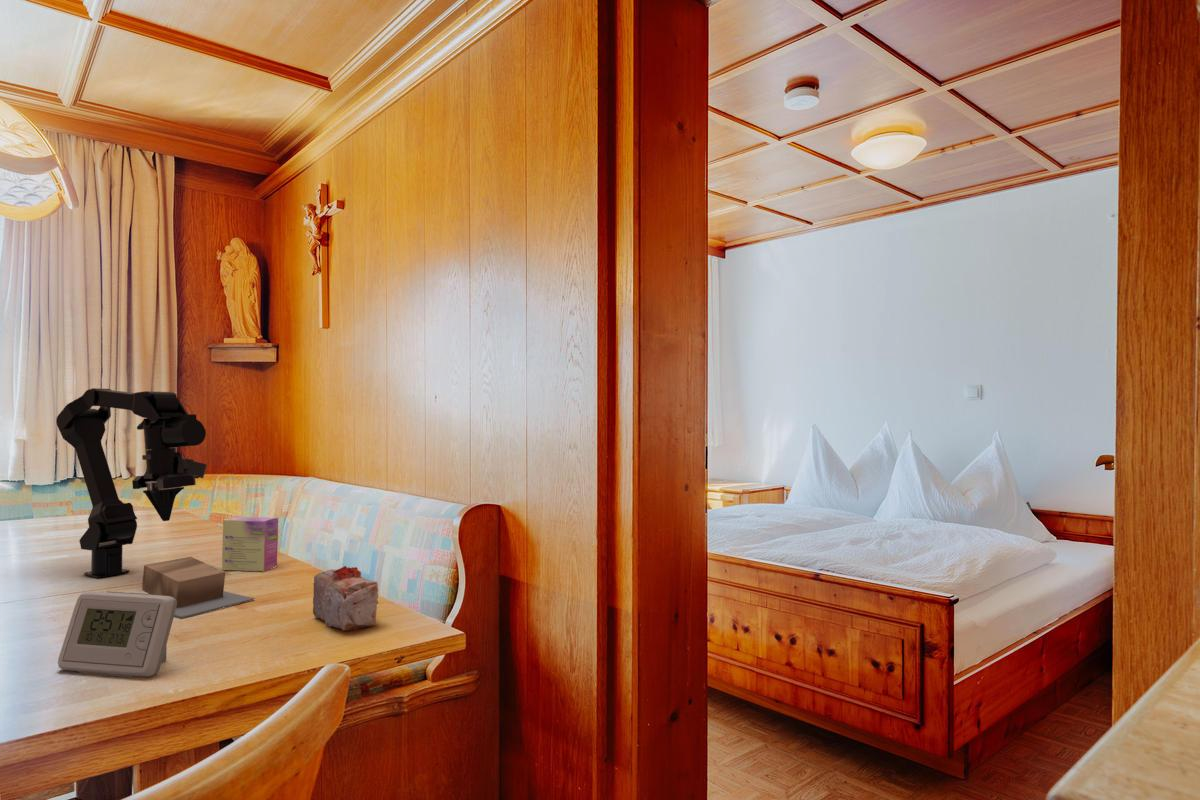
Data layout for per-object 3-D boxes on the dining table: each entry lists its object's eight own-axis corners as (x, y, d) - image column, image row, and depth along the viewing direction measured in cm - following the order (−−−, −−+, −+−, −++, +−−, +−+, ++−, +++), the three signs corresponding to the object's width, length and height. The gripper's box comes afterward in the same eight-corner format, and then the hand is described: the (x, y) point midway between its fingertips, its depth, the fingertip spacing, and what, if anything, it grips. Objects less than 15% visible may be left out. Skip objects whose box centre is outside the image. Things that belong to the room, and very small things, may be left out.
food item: (384, 626, 121) (385, 569, 122) (341, 637, 116) (341, 577, 116) (346, 610, 131) (347, 557, 131) (304, 619, 125) (305, 564, 125)
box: (278, 566, 166) (278, 516, 166) (264, 572, 160) (264, 520, 160) (236, 565, 167) (237, 515, 167) (221, 570, 161) (222, 519, 161)
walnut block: (144, 565, 136) (178, 581, 130) (190, 556, 143) (225, 572, 137) (141, 590, 136) (176, 608, 130) (188, 580, 144) (222, 596, 138)
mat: (136, 606, 132) (136, 598, 132) (209, 589, 144) (209, 582, 144) (181, 618, 125) (182, 610, 125) (254, 600, 137) (254, 592, 137)
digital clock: (50, 671, 100) (51, 597, 100) (114, 651, 108) (115, 582, 108) (128, 689, 94) (128, 610, 94) (189, 666, 102) (189, 593, 103)
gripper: (218, 444, 152) (223, 515, 152) (183, 447, 164) (188, 513, 163) (161, 448, 143) (167, 524, 143) (129, 451, 155) (134, 522, 155)
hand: (166, 520), depth 151 cm, fingers closed
